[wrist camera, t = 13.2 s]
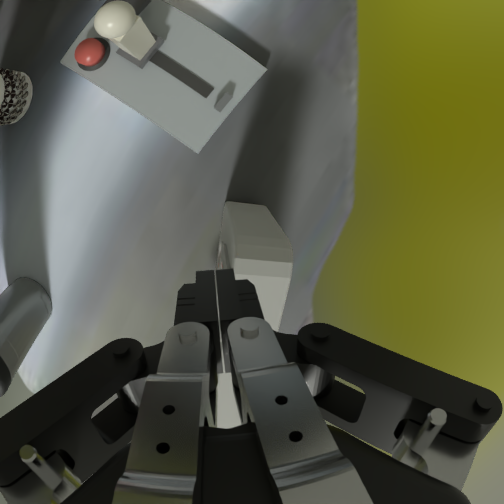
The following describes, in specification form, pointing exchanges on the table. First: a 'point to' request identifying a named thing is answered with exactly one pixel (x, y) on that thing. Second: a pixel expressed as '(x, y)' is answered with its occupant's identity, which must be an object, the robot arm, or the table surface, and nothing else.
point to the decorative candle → (14, 95)
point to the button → (89, 52)
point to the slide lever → (127, 32)
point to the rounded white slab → (252, 277)
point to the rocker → (135, 4)
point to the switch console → (175, 75)
